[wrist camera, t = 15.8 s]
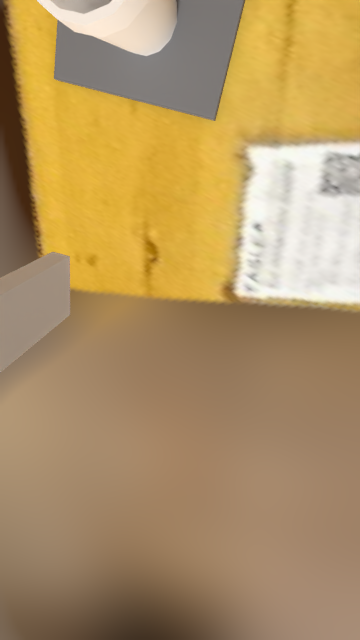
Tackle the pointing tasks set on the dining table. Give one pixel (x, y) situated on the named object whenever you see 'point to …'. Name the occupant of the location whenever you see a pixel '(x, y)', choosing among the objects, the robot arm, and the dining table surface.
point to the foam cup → (120, 21)
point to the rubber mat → (160, 60)
